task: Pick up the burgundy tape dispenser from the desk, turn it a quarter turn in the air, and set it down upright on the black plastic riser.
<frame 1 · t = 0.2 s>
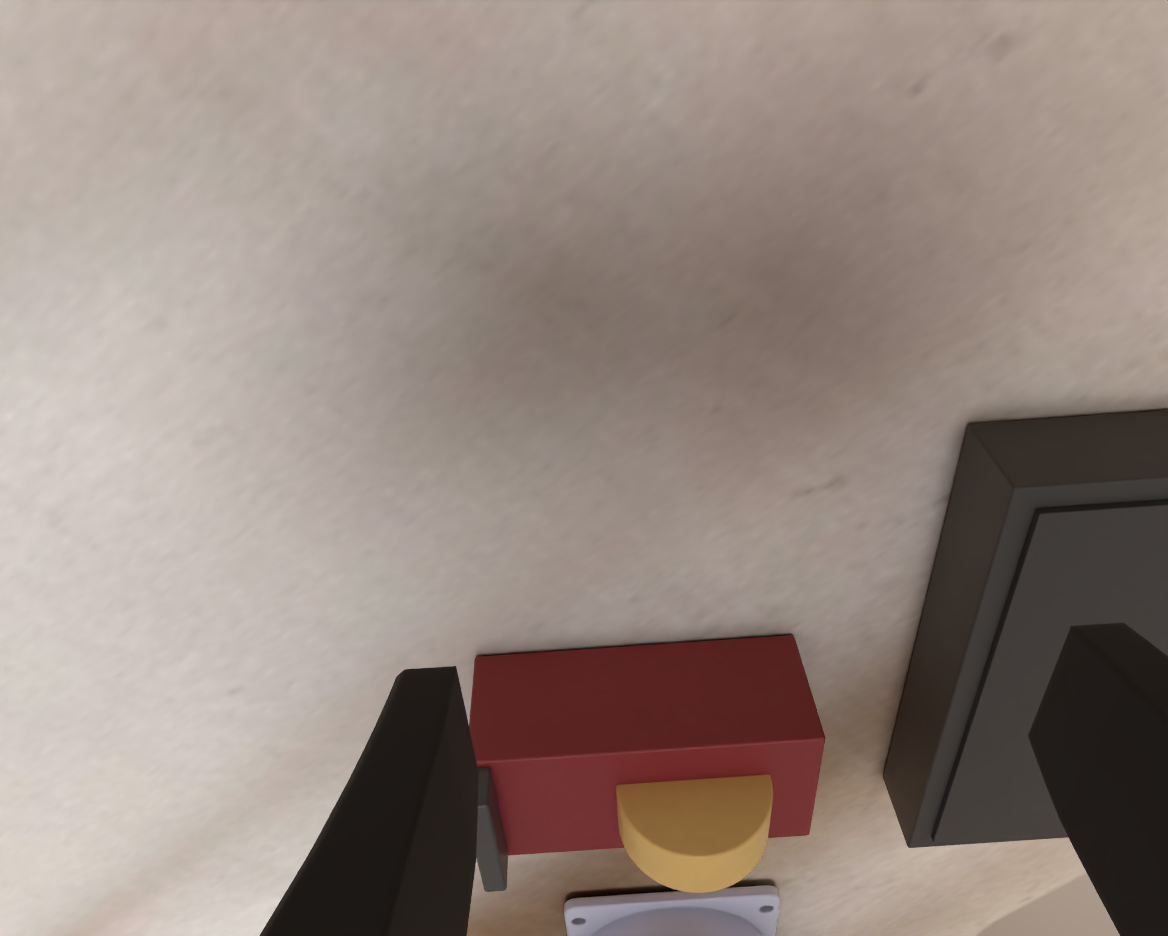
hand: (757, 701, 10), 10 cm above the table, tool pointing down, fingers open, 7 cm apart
tape dispenser: (636, 695, 26), on the table
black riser: (1095, 617, 24), on the table
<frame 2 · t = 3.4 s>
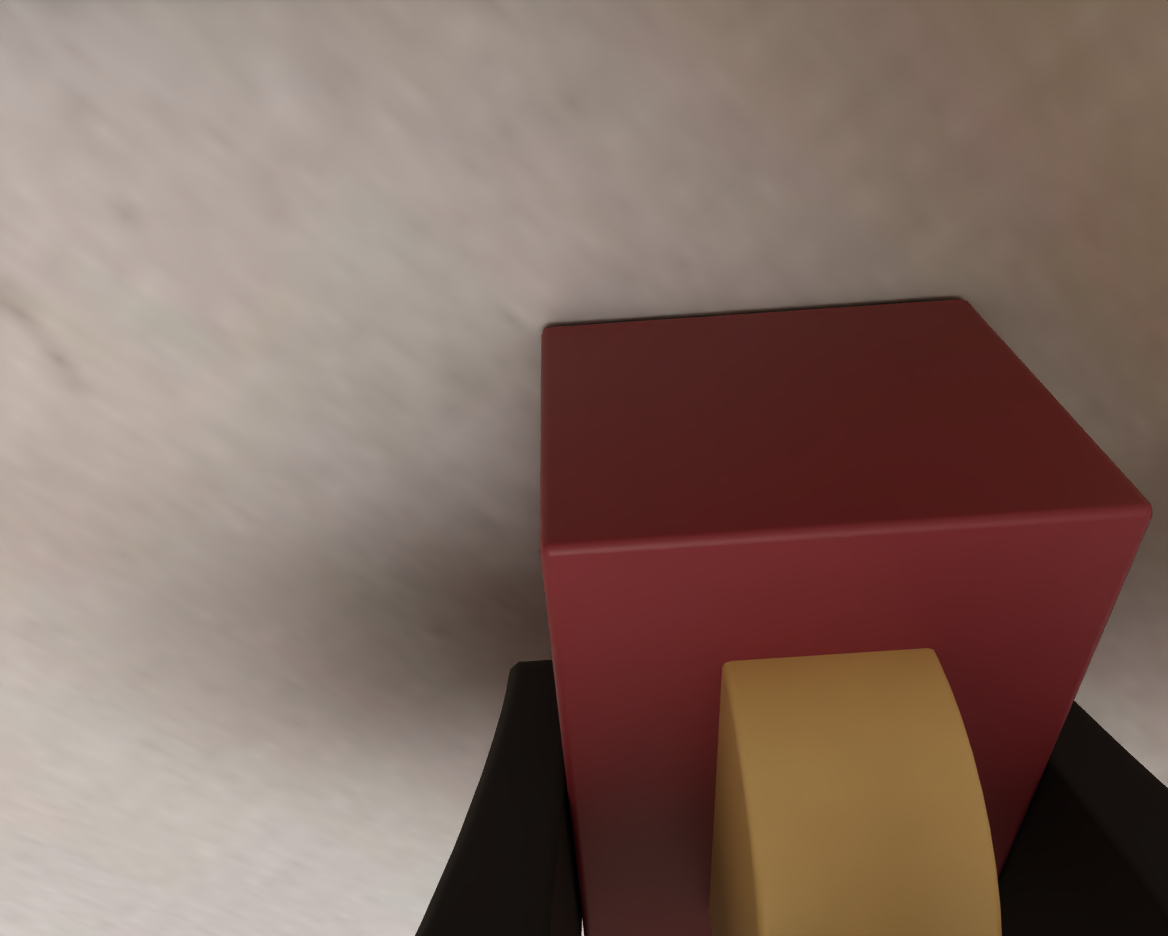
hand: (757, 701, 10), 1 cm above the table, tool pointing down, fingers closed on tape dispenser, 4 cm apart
tape dispenser: (734, 617, 12), on the table, touching gripper
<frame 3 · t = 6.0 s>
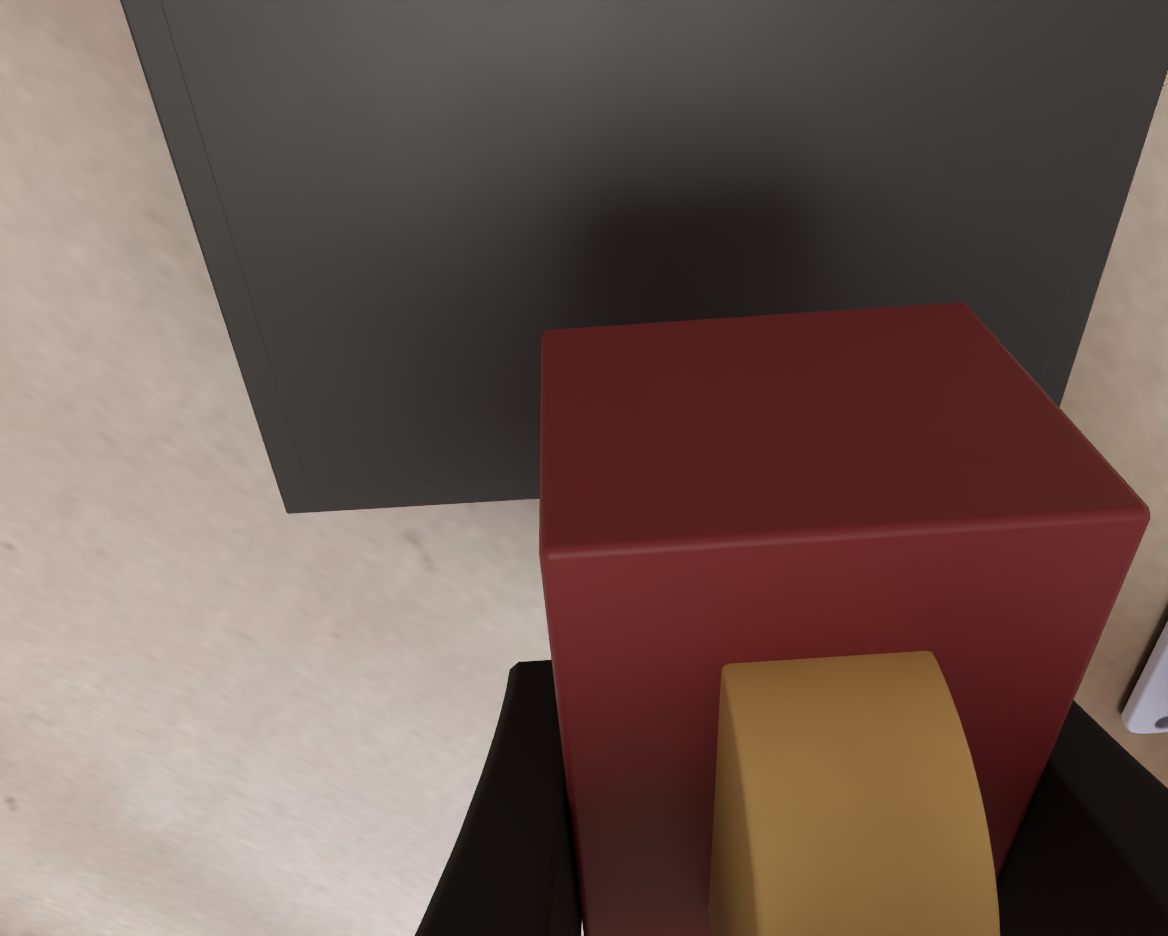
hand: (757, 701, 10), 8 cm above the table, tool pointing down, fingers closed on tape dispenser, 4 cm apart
tape dispenser: (733, 619, 12), point 7 cm above the table, touching gripper
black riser: (648, 178, 15), on the table
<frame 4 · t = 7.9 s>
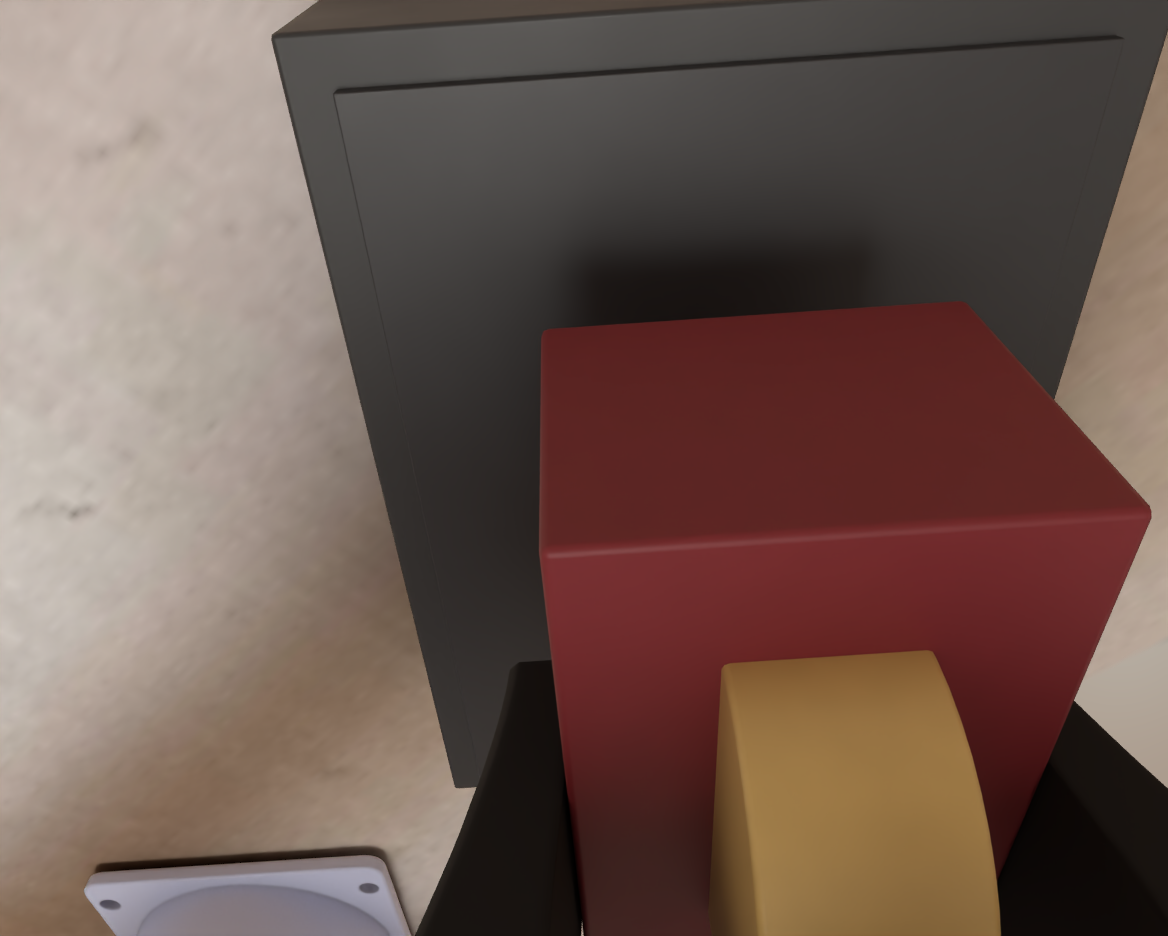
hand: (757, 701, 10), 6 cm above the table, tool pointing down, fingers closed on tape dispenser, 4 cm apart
tape dispenser: (733, 618, 12), point 5 cm above the table, touching gripper
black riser: (688, 418, 16), on the table
when the fingers open (4 cm above the table, at t = 9.1 s): tape dispenser stays where it is, resting on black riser.
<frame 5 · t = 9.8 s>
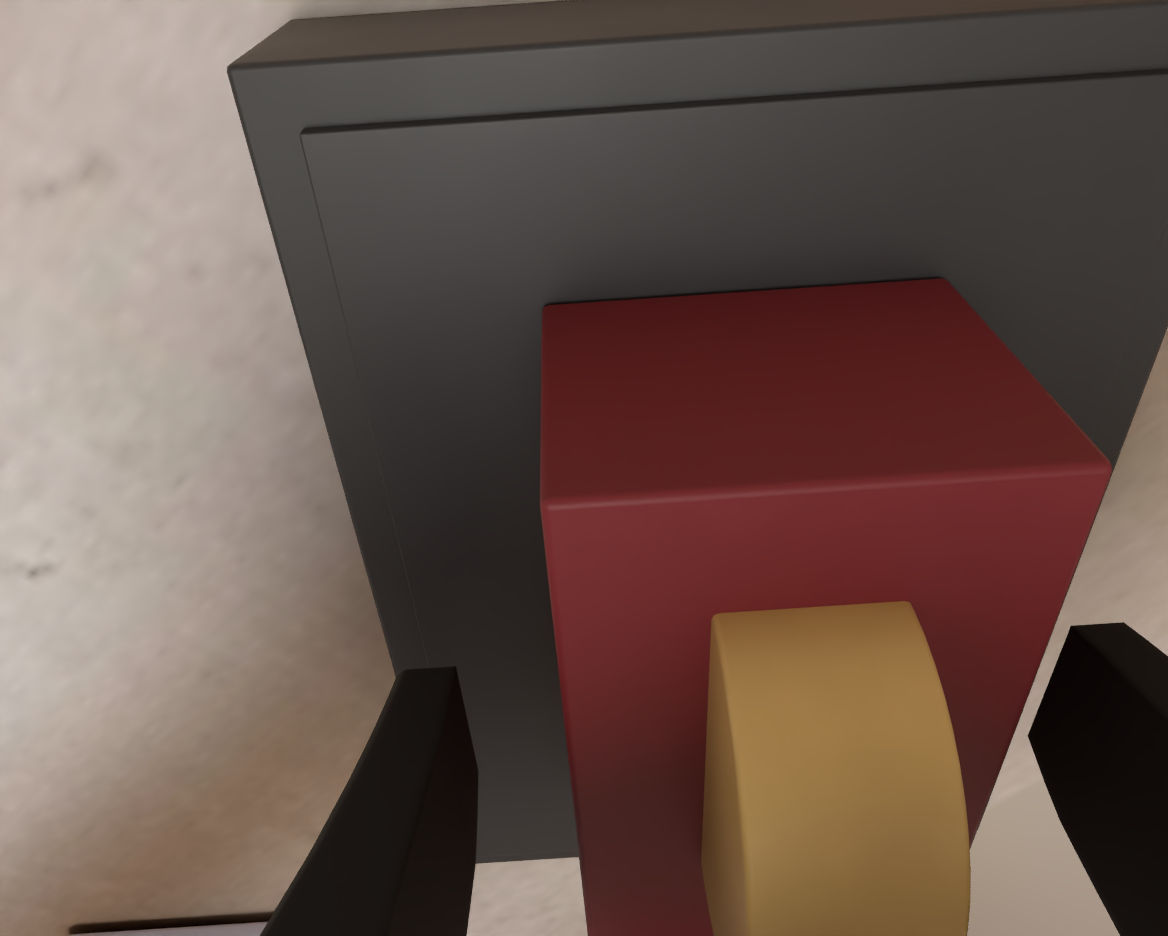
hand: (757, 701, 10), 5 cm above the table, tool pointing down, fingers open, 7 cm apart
tape dispenser: (727, 589, 12), point 3 cm above the table, touching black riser
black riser: (702, 472, 14), on the table
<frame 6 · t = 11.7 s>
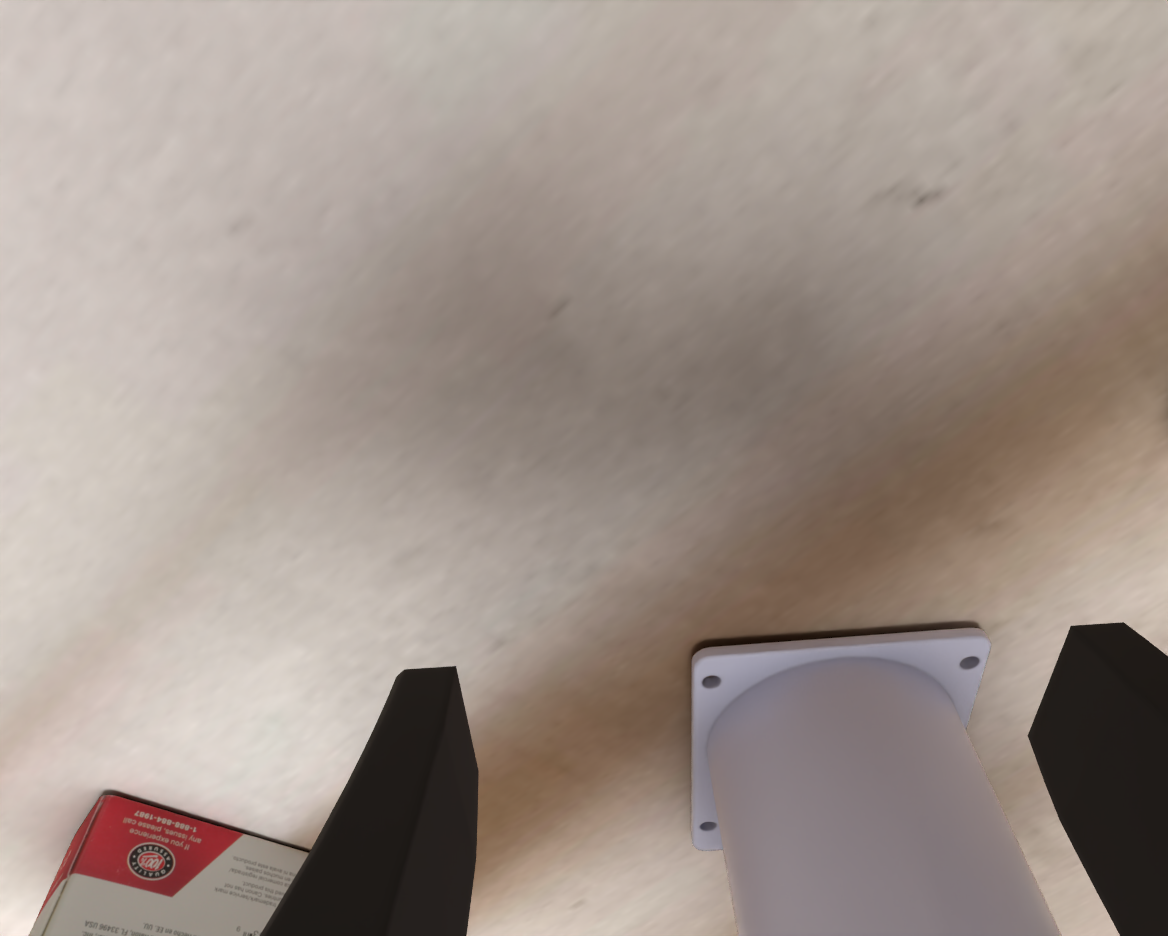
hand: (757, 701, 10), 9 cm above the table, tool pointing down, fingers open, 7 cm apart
ink box: (214, 856, 29), on the table
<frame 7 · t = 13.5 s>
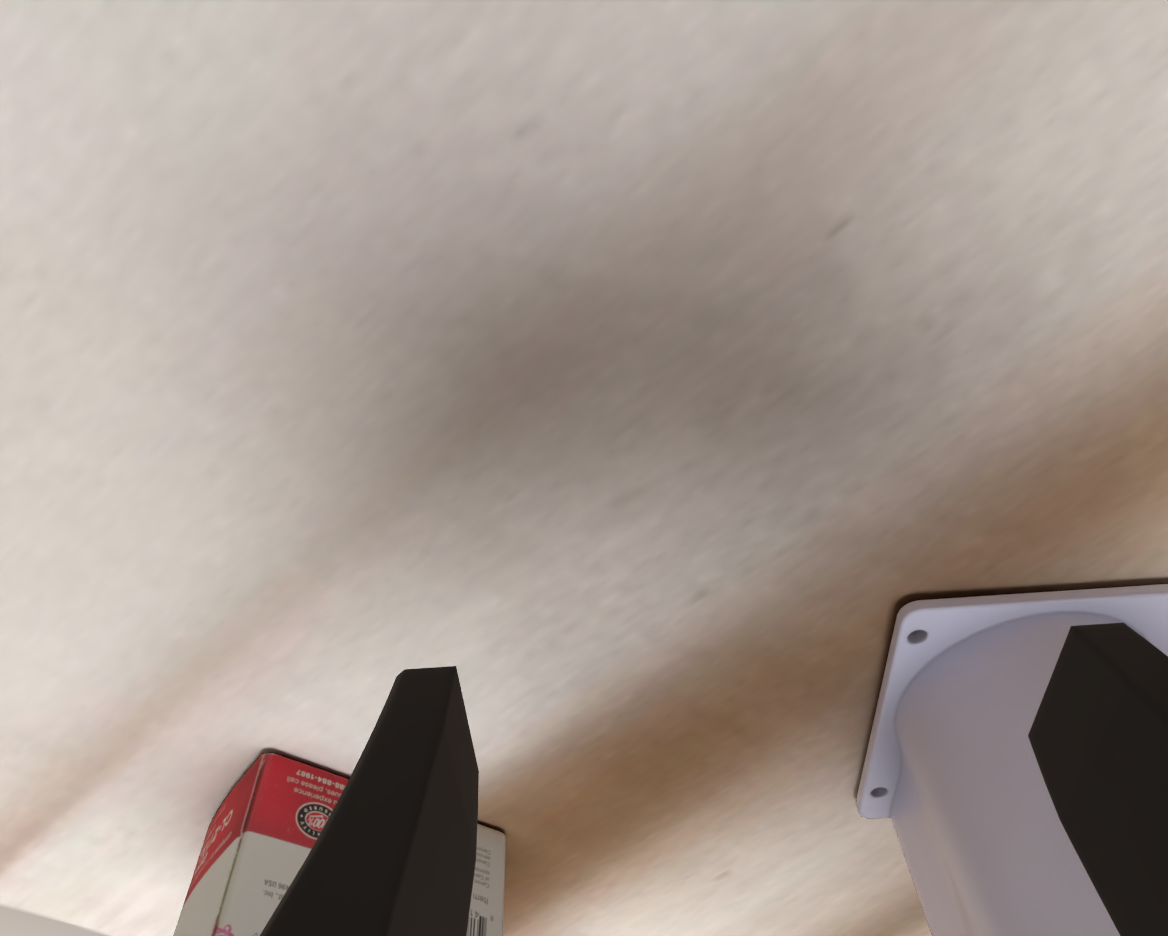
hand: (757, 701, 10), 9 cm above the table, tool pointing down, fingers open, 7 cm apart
ink box: (361, 821, 28), on the table
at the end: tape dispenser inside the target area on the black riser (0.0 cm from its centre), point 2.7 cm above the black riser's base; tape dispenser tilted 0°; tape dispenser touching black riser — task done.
